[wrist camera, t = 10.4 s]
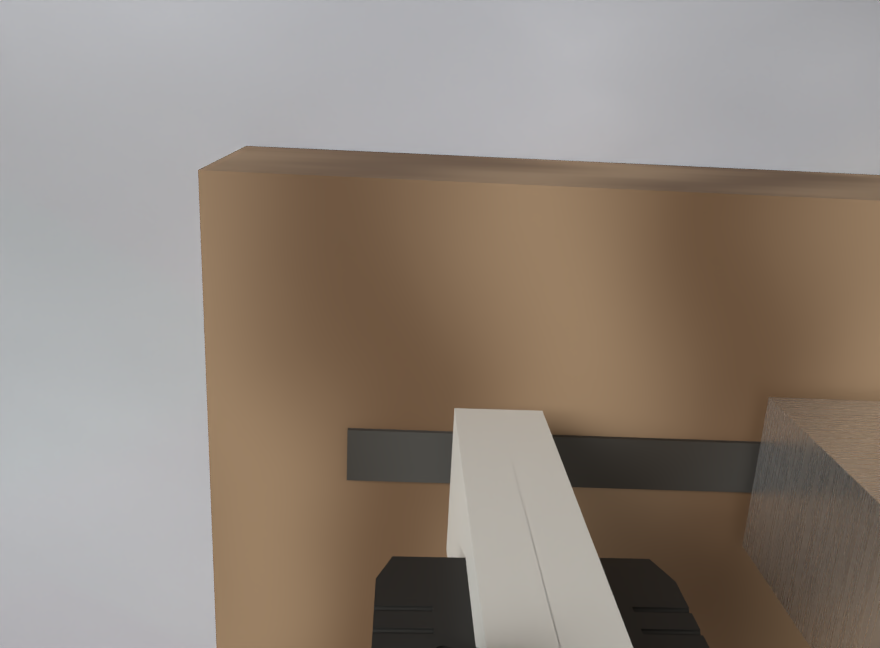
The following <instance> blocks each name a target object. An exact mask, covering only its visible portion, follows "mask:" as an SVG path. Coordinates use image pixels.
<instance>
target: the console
mask: <svg viewBox="0 0 880 648" xmlns="http://www.w3.org/2000/svg"><path fill="white" fill-rule="evenodd" d="M198 177H199V203H200V229H201V255H202V281H203V307H204V333H205V359H206V384H207V410H208V436H209V462H210V488H211V514H212V540H213V566H214V592H215V618H216V644H217V648H371V646H372V632H373V614H374V598H375V582H376V578H377V576H378V575H379V573H380V572H381V571H382V569H383V568H384V567H385V565H386V564H387V563H388V561H389V560H390V559H391V557H392V556H407V557H447V550H446V548H447V530H448V513H449V495H450V478H451V460H452V443H453V425H454V408H467V409H501V410H535V411H543V414H544V416H545V419H546V421H547V424H548V427H549V429H550V432H551V434H552V437H553V440H554V442H555V445H556V447H557V450H558V453H559V455H560V458H561V460H562V463H563V466H564V468H565V471H566V474H567V476H568V479H569V481H570V484H571V487H572V489H573V492H574V494H575V497H576V500H577V502H578V505H579V507H580V510H581V513H582V515H583V518H584V520H585V523H586V526H587V528H588V531H589V534H590V536H591V539H592V541H593V544H594V547H595V549H596V552H597V554H598V557H599V558H634V559H650V560H651V561H652V562H654V563H655V564H656V565H657V566H658V567H659V568H660V569H662V570H663V571H664V572H665V573H666V574H667V575H669V576H670V577H671V578H672V579H673V580H674V581H676V583H677V585H678V587H679V589H680V591H681V593H682V595H683V597H684V599H685V601H686V603H687V605H688V607H689V613H692V614H693V616H694V618H695V620H696V622H697V624H698V626H699V628H700V634H701V635H703V636H704V638H705V640H706V642H707V644H708V646H709V648H811V647H810V646H809V644H808V643H807V641H806V640H805V638H804V637H803V635H802V634H801V632H800V631H799V629H798V628H797V627H796V625H795V624H794V622H793V621H792V619H791V618H790V616H789V615H788V613H787V612H786V610H785V609H784V607H783V606H782V604H781V603H780V601H779V600H778V598H777V597H776V595H775V594H774V592H773V591H772V589H771V588H770V586H769V585H768V583H767V582H766V580H765V579H764V577H763V576H762V574H761V573H760V571H759V570H758V568H757V567H756V565H755V564H754V562H753V561H752V559H751V558H750V556H749V555H748V553H747V552H746V550H745V549H744V547H743V546H742V544H743V539H744V533H745V527H746V522H747V516H748V511H749V505H750V500H751V494H752V488H753V483H754V477H755V472H756V466H757V461H758V455H759V449H760V444H761V438H762V433H763V427H764V421H765V416H766V410H767V405H768V399H769V397H777V398H805V399H834V400H862V401H880V175H866V174H844V173H822V172H800V171H779V170H757V169H735V168H713V167H691V166H670V165H648V164H626V163H604V162H583V161H561V160H539V159H517V158H496V157H474V156H452V155H430V154H409V153H387V152H365V151H343V150H322V149H300V148H278V147H256V146H245V147H243V148H241V149H239V150H237V151H235V152H233V153H231V154H229V155H227V156H225V157H223V158H221V159H219V160H217V161H215V162H213V163H211V164H209V165H207V166H205V167H203V168H201V169H199V170H198Z"/></svg>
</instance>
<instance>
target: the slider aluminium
mask: <svg viewBox="0 0 880 648" xmlns="http://www.w3.org/2000/svg"><path fill="white" fill-rule="evenodd" d="M742 546H743V547H744V549H745V550H746V552H747V553H748V555H749V556H750V558H751V559H752V561H753V562H754V564H755V565H756V567H757V568H758V570H759V571H760V573H761V574H762V576H763V577H764V579H765V580H766V582H767V583H768V585H769V586H770V588H771V589H772V591H773V592H774V594H775V595H776V597H777V598H778V600H779V601H780V603H781V604H782V606H783V607H784V609H785V610H786V612H787V613H788V615H789V616H790V618H791V619H792V621H793V622H794V624H795V625H796V627H797V628H798V629H799V631H800V632H801V634H802V635H803V637H804V638H805V640H806V641H807V643H808V644H809V646H810V647H811V648H880V401H862V400H834V399H805V398H777V397H769V399H768V405H767V410H766V416H765V421H764V427H763V433H762V438H761V444H760V449H759V455H758V461H757V466H756V472H755V477H754V483H753V488H752V494H751V500H750V505H749V511H748V516H747V522H746V527H745V533H744V539H743V544H742Z"/></svg>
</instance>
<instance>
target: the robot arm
mask: <svg viewBox="0 0 880 648" xmlns="http://www.w3.org/2000/svg"><path fill="white" fill-rule="evenodd" d="M446 550H447V557H407V556H392V557H391V559H390V560H389V561H388V563H387V564H386V565H385V567H384V568H383V569H382V571H381V572H380V573H379V575H378V576H377V578H376V582H375V598H374V614H373V632H372V646H371V648H709V646H708V644H707V642H706V640H705V638H704V636H703V635H701V634H700V628H699V626H698V624H697V622H696V620H695V618H694V616H693V614H692V613H689V607H688V605H687V603H686V601H685V599H684V597H683V595H682V593H681V591H680V589H679V587H678V585H677V583H676V581H674V580H673V579H672V578H671V577H670V576H669V575H667V574H666V573H665V572H664V571H663V570H662V569H660V568H659V567H658V566H657V565H656V564H655V563H654V562H652V561H651V560H650V559H634V558H599V557H598V554H597V552H596V549H595V547H594V544H593V541H592V539H591V536H590V534H589V531H588V528H587V526H586V523H585V520H584V518H583V515H582V513H581V510H580V507H579V505H578V502H577V500H576V497H575V494H574V492H573V489H572V487H571V484H570V481H569V479H568V476H567V474H566V471H565V468H564V466H563V463H562V460H561V458H560V455H559V453H558V450H557V447H556V445H555V442H554V440H553V437H552V434H551V432H550V429H549V427H548V424H547V421H546V419H545V416H544V414H543V411H535V410H501V409H467V408H454V425H453V443H452V460H451V478H450V495H449V513H448V530H447V548H446Z"/></svg>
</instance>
